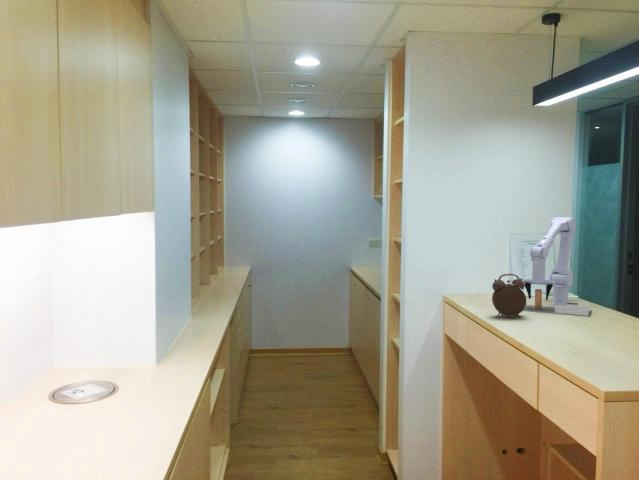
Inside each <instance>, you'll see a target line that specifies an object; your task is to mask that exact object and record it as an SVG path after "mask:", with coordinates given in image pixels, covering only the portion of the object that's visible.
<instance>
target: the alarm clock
mask: <svg viewBox="0 0 639 480" xmlns="http://www.w3.org/2000/svg"><path fill="white" fill-rule="evenodd" d="M505 276H513V277H514V276H515V277H516V278H517V279H516V278H515V279H514V280H512V281H511V280H506V282H507V283H505V281H503V280H502V277H505ZM522 280H523V278H520V277H519V276H518V275H517V274H514V273H503V274H501V275H500V276H499V277H498V278H497V279H496V278H495V279H494V281H493V283H492V285H491V286H492V289H493V292H492V296H491V300H492V301H491V302H492V304H493V306H494V308H495V310H496V311H497V312H498V314H497V317H499V316H500V317H499V318H502V317H503V316H506V317H515V316H517V317H518V318H520V314H521V313H522V312H524V311H523V310H524V308H525V306H526V305H527V296H526V293H524V288H525V284H524V283H523V281H522ZM510 282H511V284H509V283H510Z"/></svg>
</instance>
